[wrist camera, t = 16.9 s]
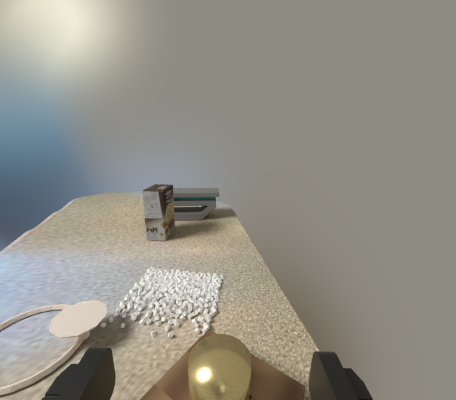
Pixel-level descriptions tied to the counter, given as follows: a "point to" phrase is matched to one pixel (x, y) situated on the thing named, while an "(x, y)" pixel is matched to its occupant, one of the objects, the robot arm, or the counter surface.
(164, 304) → the salt crystals
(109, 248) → the counter surface
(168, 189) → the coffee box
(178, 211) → the grey slotted bar
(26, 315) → the hand towel holder
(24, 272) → the counter surface
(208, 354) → the brass pin
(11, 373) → the counter surface
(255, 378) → the walnut block
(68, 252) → the counter surface
